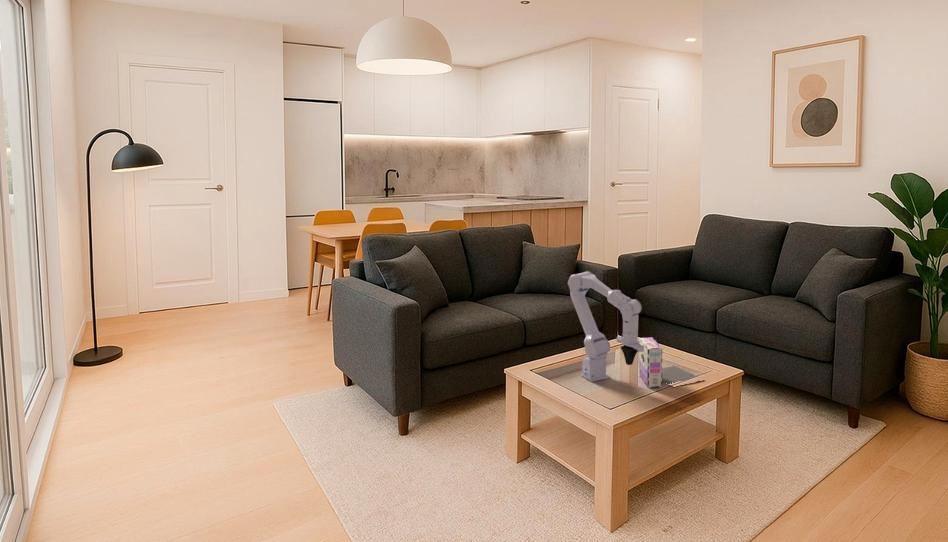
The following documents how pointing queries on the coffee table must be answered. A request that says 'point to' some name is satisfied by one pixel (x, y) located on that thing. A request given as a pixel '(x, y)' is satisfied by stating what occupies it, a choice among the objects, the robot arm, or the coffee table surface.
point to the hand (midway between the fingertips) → (629, 364)
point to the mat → (675, 375)
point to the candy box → (651, 362)
